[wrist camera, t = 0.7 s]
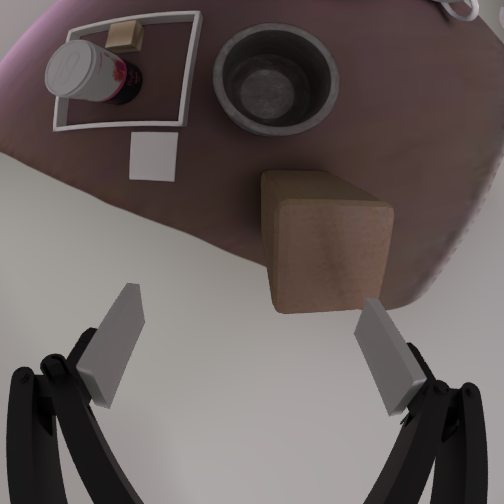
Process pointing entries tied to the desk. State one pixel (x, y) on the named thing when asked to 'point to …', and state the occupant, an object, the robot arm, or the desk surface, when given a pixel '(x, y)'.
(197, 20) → the bin
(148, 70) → the desk surface
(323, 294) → the wooden block
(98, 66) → the beverage can
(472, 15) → the mug
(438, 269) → the desk surface
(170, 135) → the pad
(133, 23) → the beech block
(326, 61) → the planter
